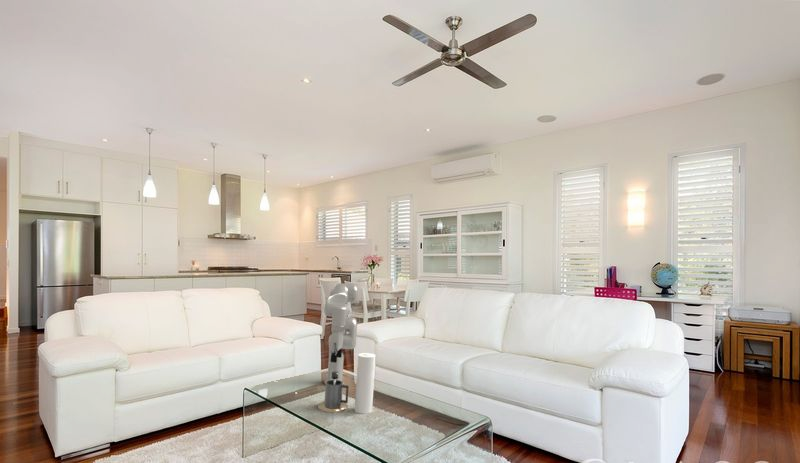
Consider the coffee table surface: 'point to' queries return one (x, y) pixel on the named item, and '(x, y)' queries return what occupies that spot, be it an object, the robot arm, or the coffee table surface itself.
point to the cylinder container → (365, 383)
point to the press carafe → (334, 397)
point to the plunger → (334, 376)
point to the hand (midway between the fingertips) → (336, 359)
